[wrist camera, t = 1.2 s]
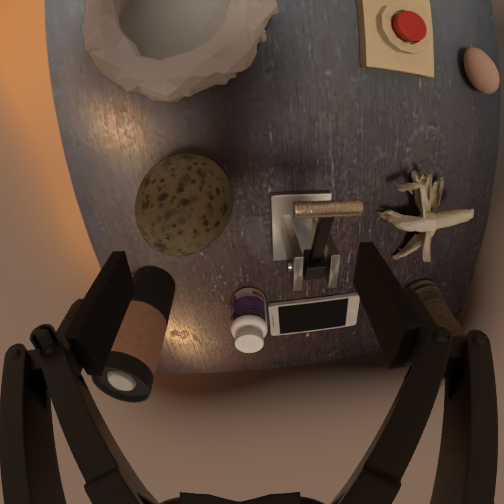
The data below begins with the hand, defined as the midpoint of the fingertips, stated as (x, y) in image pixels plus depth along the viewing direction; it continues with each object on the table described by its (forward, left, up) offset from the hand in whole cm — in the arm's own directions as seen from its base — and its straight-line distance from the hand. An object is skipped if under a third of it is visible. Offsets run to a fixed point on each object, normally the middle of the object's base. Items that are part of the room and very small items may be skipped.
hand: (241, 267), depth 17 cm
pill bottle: (+23, -1, -25) cm, 34 cm away
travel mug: (+19, -16, -25) cm, 35 cm away
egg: (-12, +36, -22) cm, 44 cm away
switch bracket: (+10, +7, -25) cm, 27 cm away
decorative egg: (+3, -7, -25) cm, 26 cm away
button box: (-18, +20, -25) cm, 37 cm away
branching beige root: (+8, +25, -25) cm, 36 cm away
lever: (+5, +7, -13) cm, 16 cm away
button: (-18, +20, -21) cm, 34 cm away
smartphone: (+27, +10, -25) cm, 38 cm away
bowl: (-19, -6, -25) cm, 31 cm away
